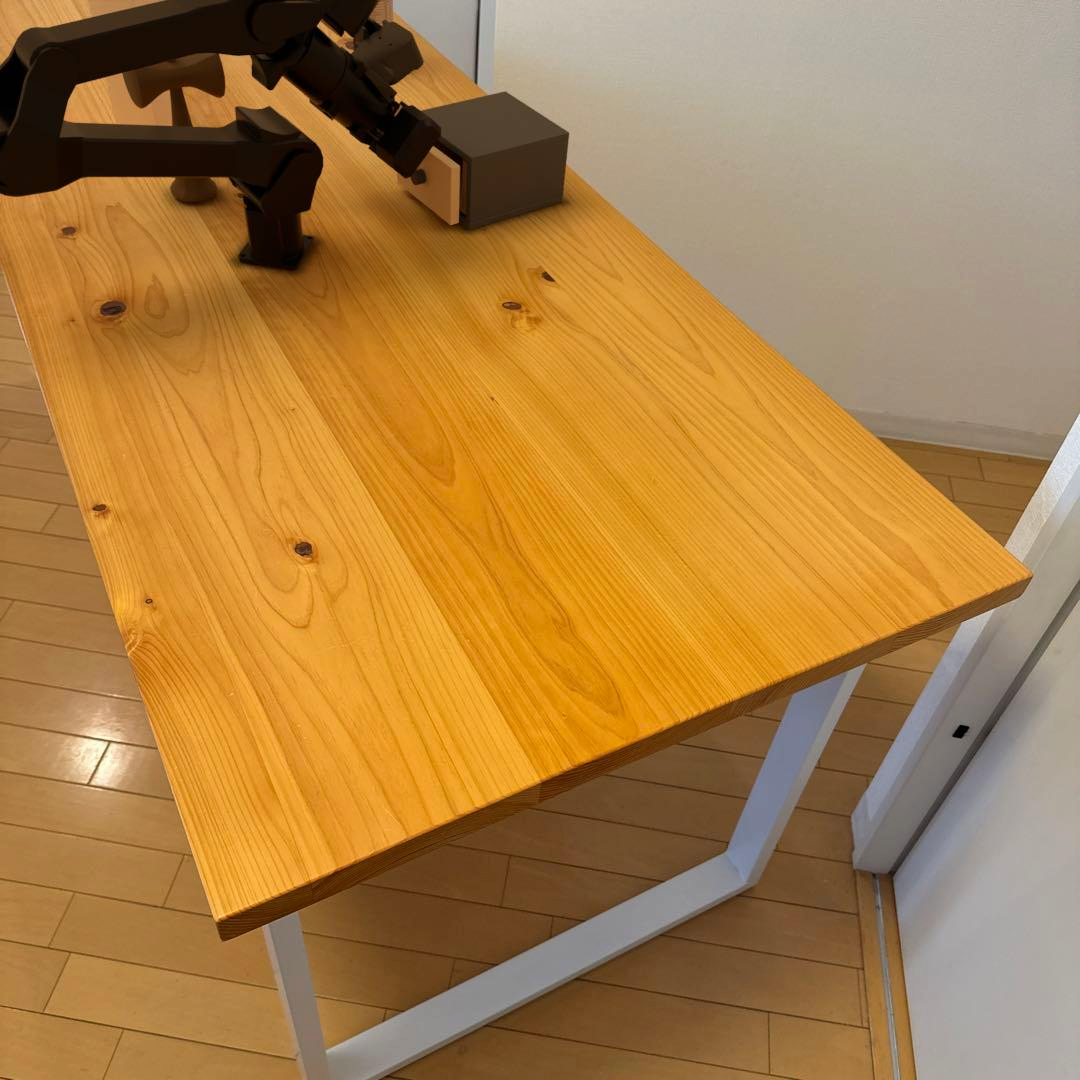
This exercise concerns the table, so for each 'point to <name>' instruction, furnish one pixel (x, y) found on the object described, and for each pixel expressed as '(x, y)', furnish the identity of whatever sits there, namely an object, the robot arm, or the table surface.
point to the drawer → (440, 183)
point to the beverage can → (381, 14)
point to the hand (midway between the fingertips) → (420, 156)
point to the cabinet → (504, 156)
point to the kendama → (180, 103)
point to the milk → (122, 104)
